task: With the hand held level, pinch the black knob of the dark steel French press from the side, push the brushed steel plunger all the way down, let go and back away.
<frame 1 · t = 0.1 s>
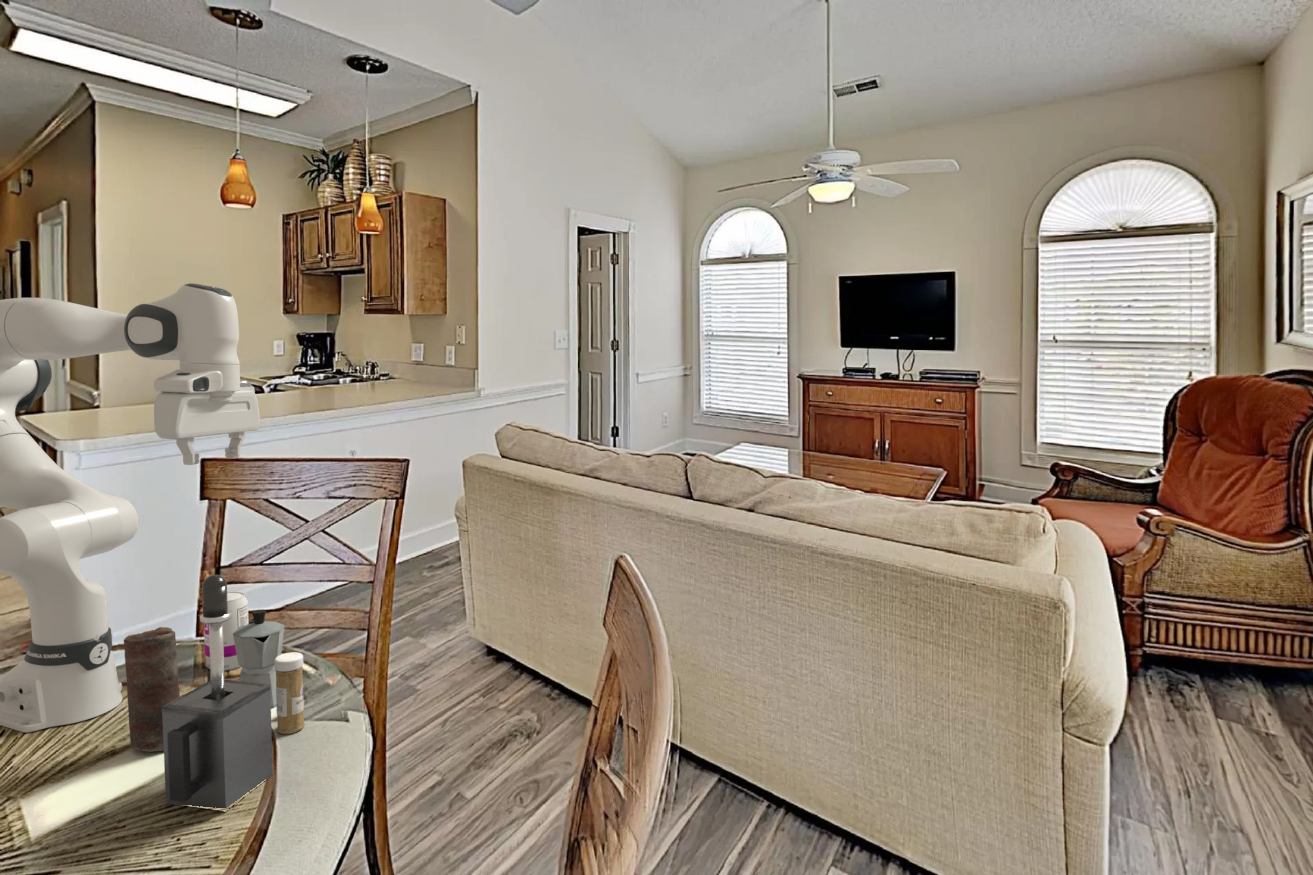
hand: (212, 461, 128), 48 cm above the table, tool pointing down, fingers open, 8 cm apart
press body: (221, 789, 114), on the table
candle: (156, 746, 126), on the table
sprinkles bottle: (290, 729, 133), on the table
coffee maker: (260, 700, 144), on the table
plunger: (216, 646, 112), point 23 cm above the table, slide at 9.0 cm
supplement can: (227, 665, 160), on the table
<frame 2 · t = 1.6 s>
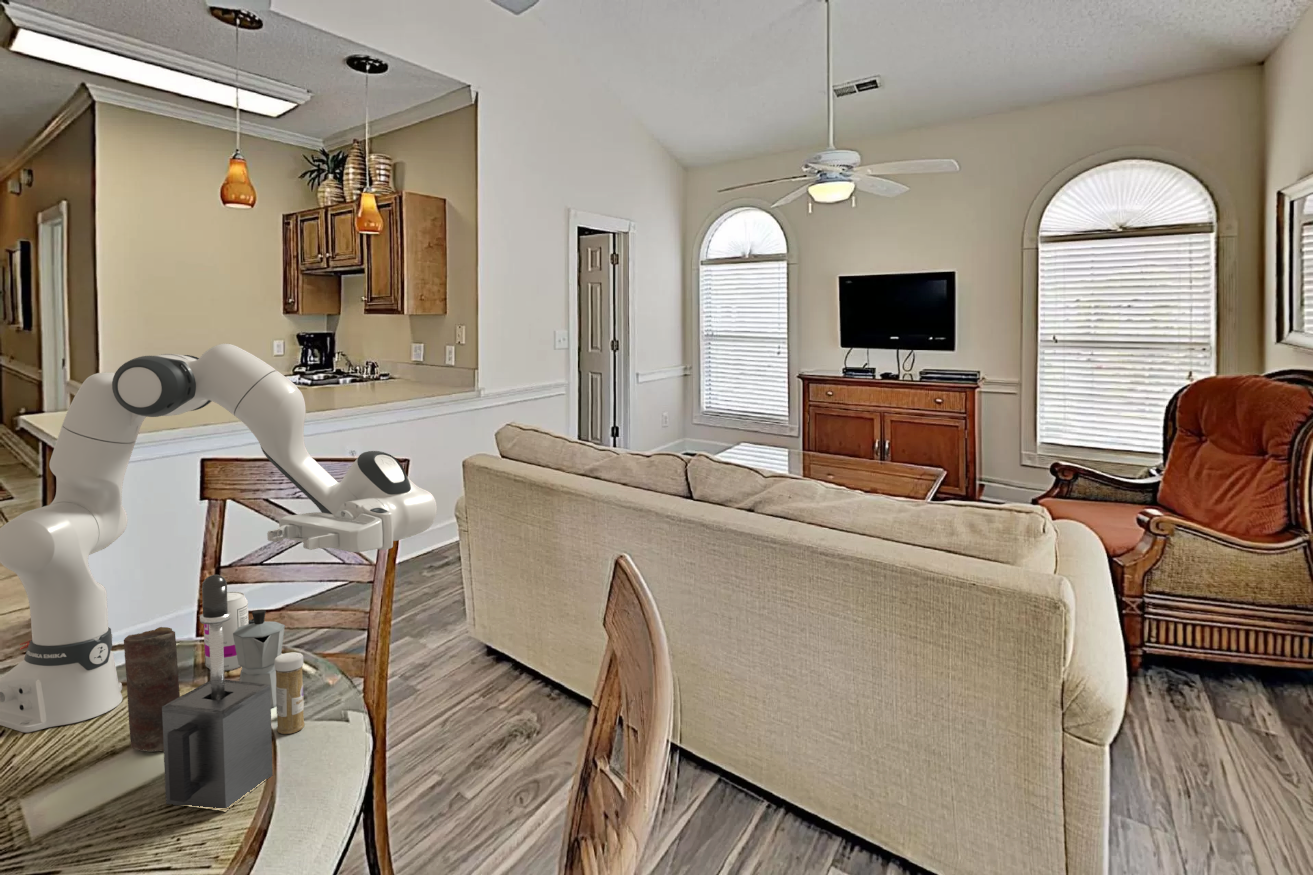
hand: (287, 540, 120), 37 cm above the table, tool horizontal, fingers open, 8 cm apart
nothing on the table moved.
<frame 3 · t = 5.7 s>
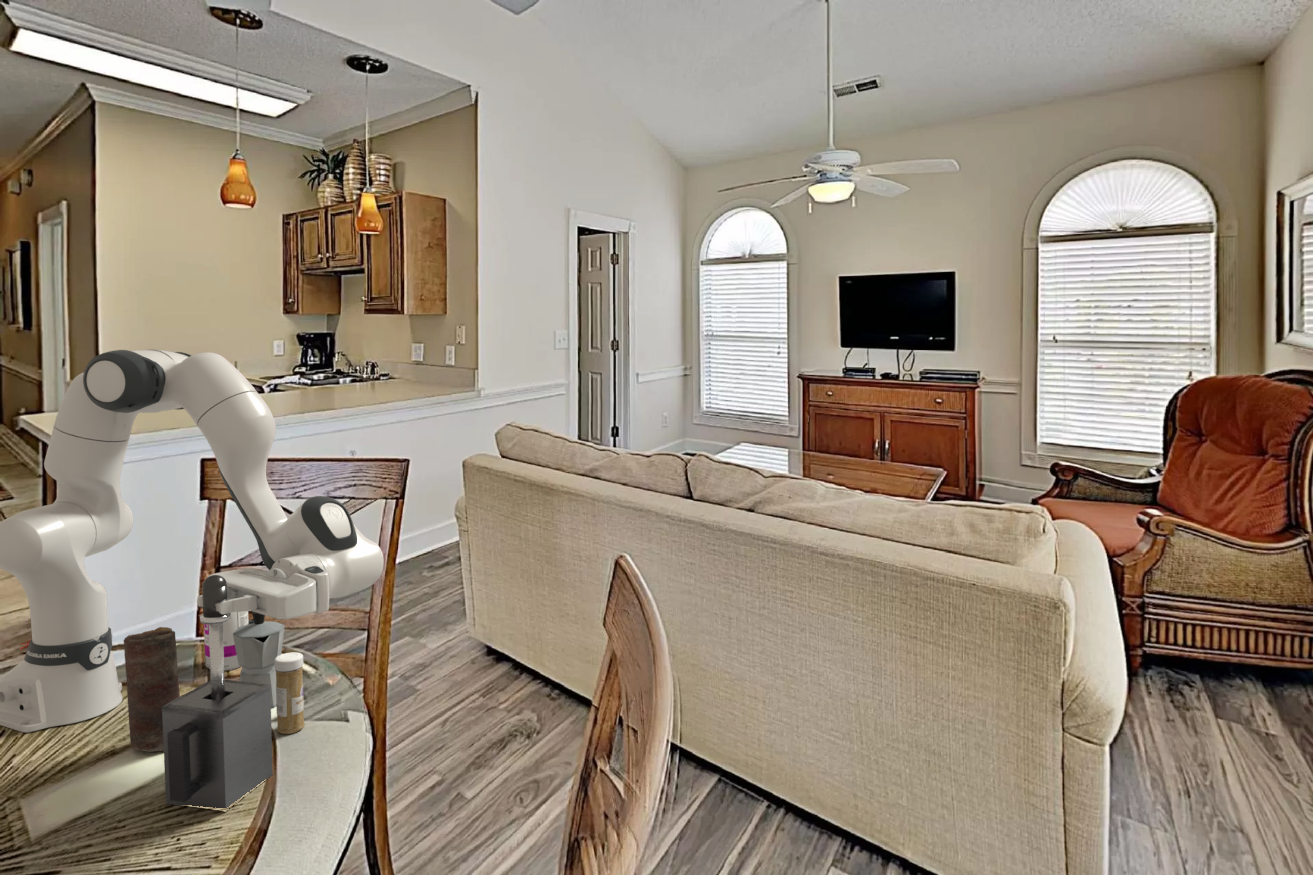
hand: (209, 605, 110), 29 cm above the table, tool horizontal, fingers closed on plunger, 3 cm apart
plunger: (216, 646, 112), point 23 cm above the table, slide at 9.0 cm, touching gripper
everything else where it was.
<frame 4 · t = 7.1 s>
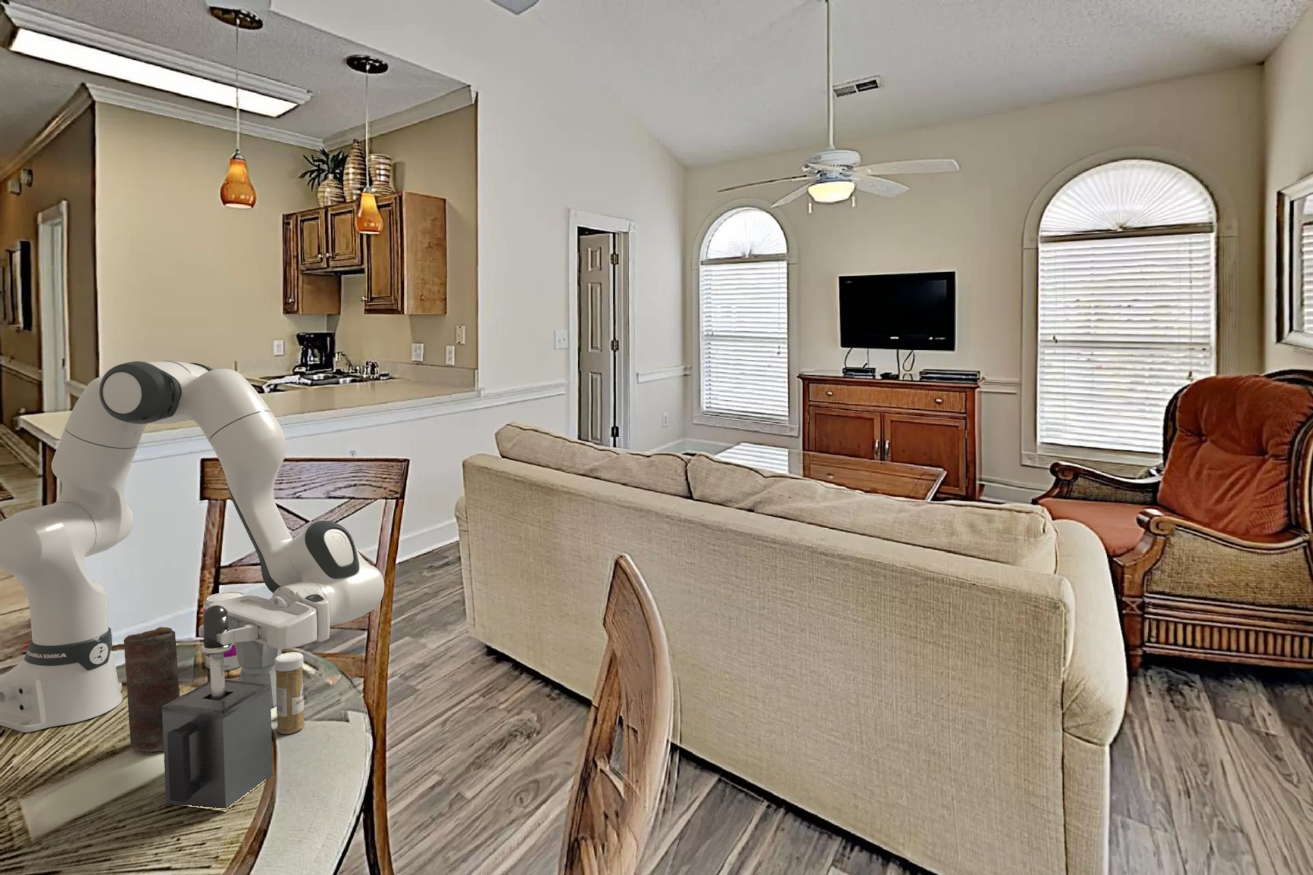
hand: (210, 635, 111), 25 cm above the table, tool horizontal, fingers closed on plunger, 3 cm apart
plunger: (217, 676, 112), point 18 cm above the table, slide at 4.3 cm, touching gripper
everything else where it was.
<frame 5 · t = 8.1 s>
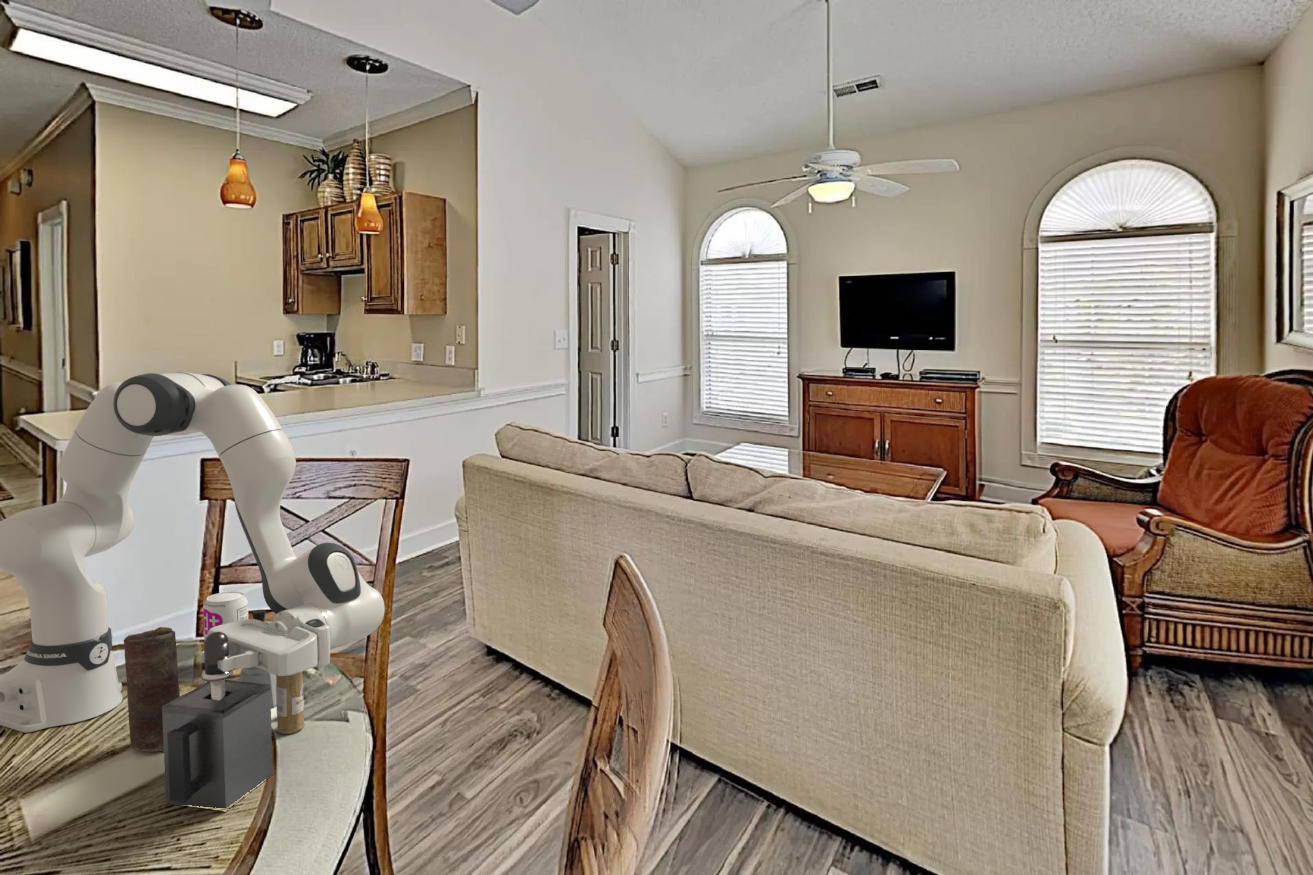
hand: (211, 662, 111), 20 cm above the table, tool horizontal, fingers closed on plunger, 3 cm apart
plunger: (218, 702, 112), point 14 cm above the table, slide at 0.2 cm, touching gripper
everything else where it was.
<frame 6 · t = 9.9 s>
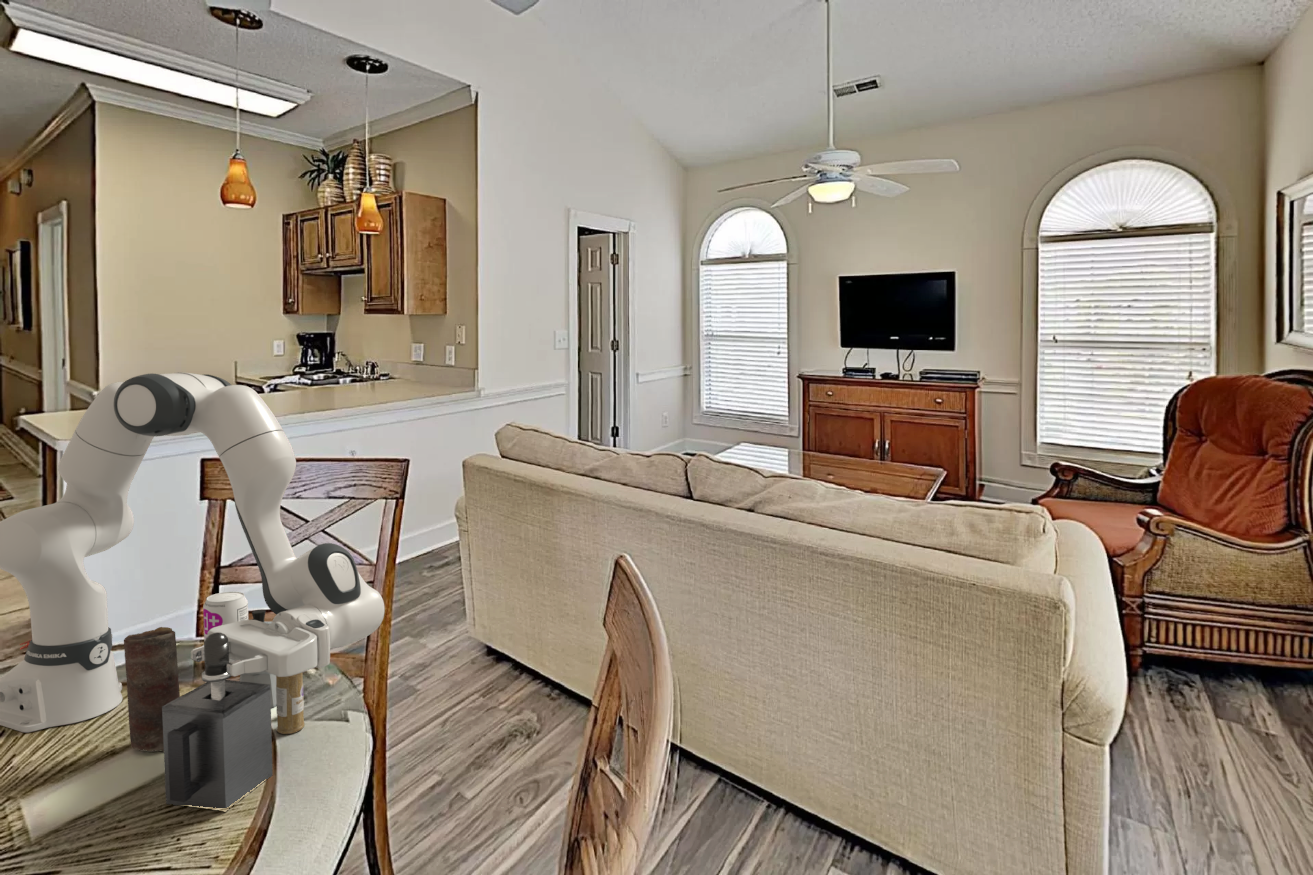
hand: (210, 663, 111), 20 cm above the table, tool horizontal, fingers open, 8 cm apart
plunger: (218, 702, 112), point 14 cm above the table, slide at 0.1 cm
everything else where it was.
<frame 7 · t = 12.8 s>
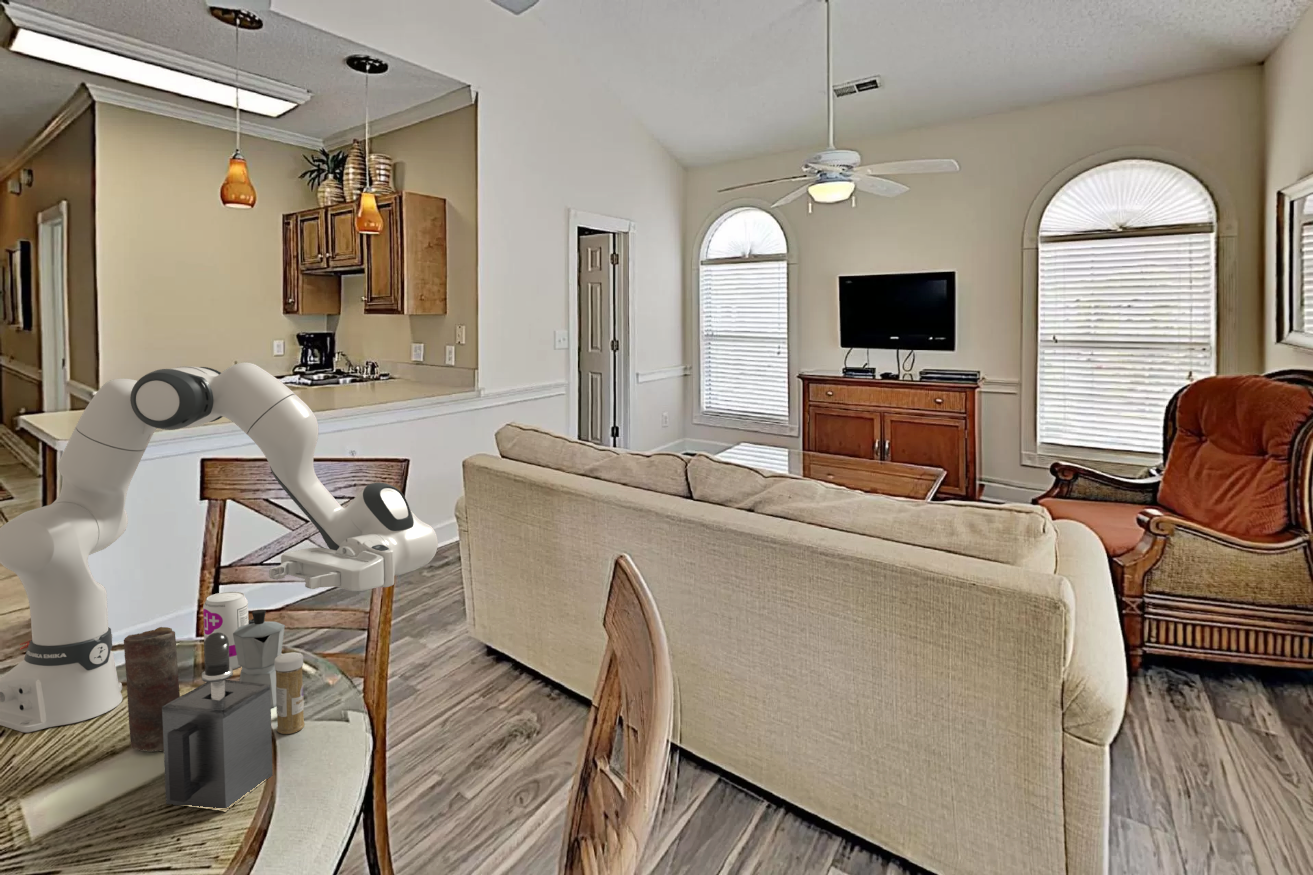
hand: (289, 578, 121), 30 cm above the table, tool horizontal, fingers open, 8 cm apart
nothing on the table moved.
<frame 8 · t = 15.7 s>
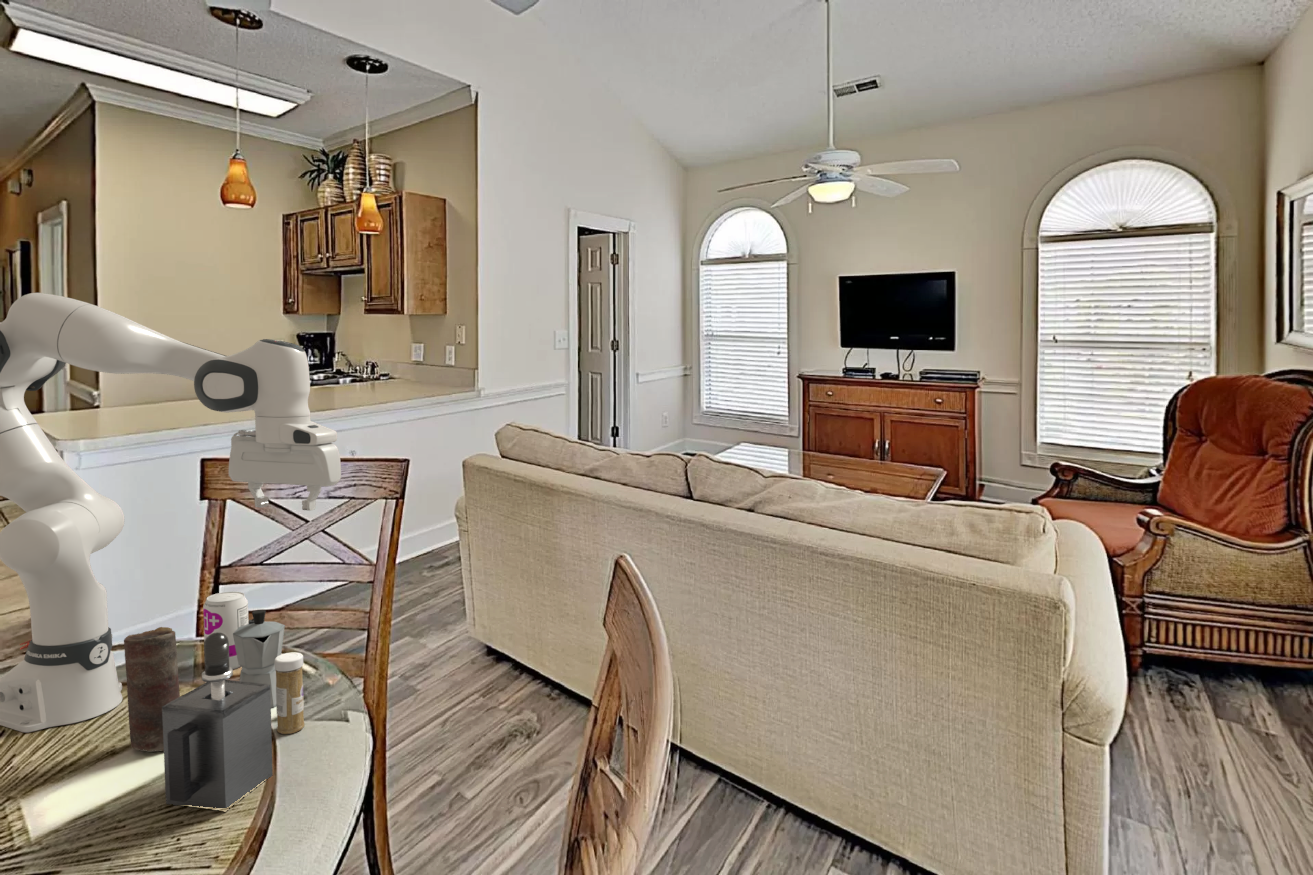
hand: (285, 508, 133), 39 cm above the table, tool pointing down, fingers open, 8 cm apart
nothing on the table moved.
at the end: plunger slide at 0.1 cm; the gripper is holding nothing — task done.
